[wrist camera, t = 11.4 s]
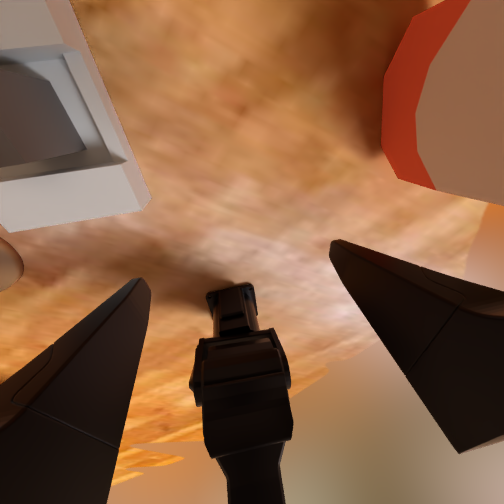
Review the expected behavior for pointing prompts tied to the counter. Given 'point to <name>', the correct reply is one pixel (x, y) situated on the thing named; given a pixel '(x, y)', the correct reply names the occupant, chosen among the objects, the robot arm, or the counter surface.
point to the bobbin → (9, 265)
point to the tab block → (33, 121)
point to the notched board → (82, 116)
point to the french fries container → (449, 101)
